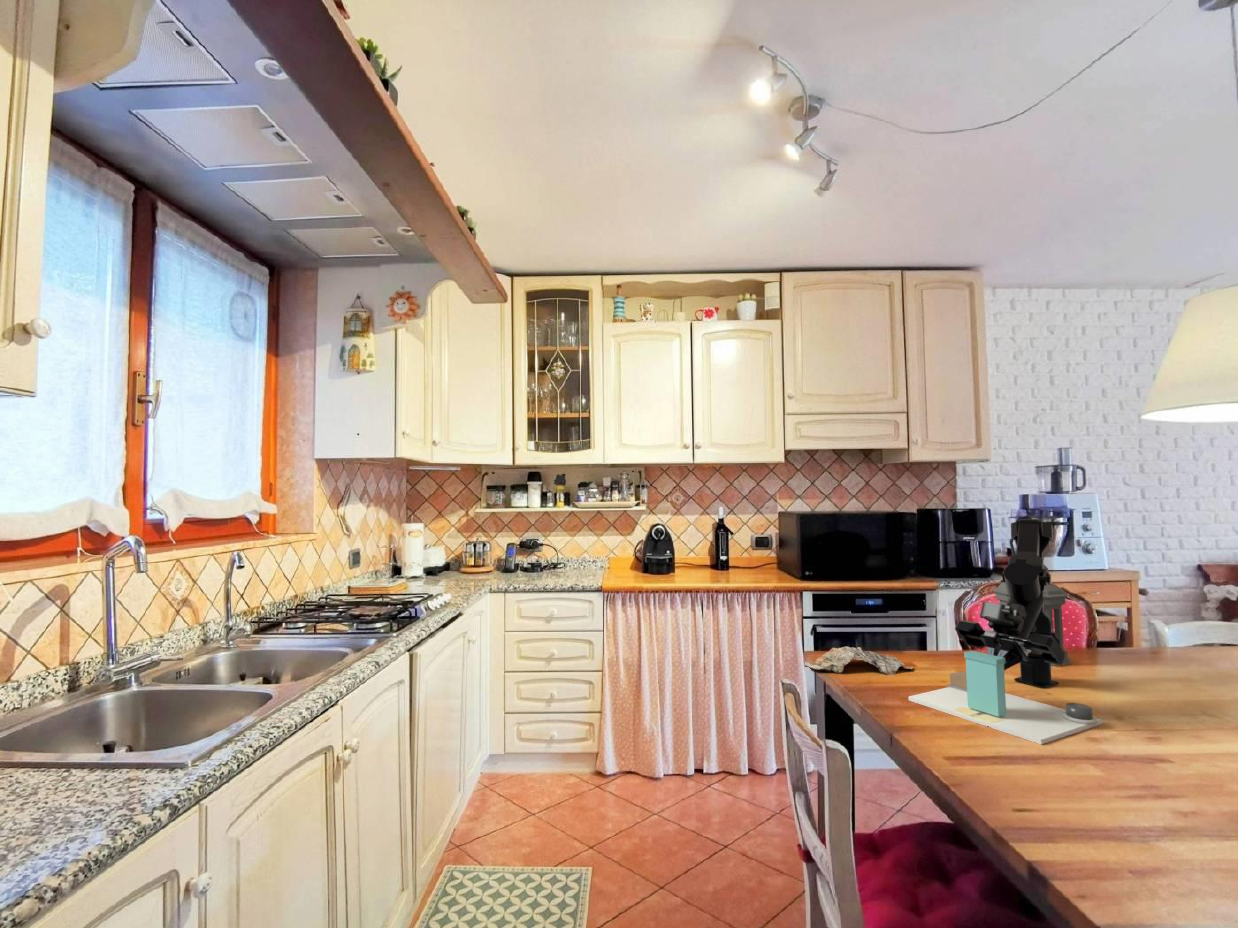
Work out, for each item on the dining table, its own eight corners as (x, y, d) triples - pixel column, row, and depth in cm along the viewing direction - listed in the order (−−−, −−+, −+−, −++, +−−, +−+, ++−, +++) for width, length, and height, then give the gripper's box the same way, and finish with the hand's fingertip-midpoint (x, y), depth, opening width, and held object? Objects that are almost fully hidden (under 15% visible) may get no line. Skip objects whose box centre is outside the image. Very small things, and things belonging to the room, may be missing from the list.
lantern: (1086, 661, 155) (1078, 526, 157) (1048, 670, 148) (1041, 528, 150) (1019, 647, 170) (1012, 524, 172) (982, 654, 163) (976, 525, 165)
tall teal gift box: (975, 704, 120) (972, 650, 121) (1007, 714, 115) (1005, 657, 115) (966, 706, 119) (963, 652, 120) (999, 717, 113) (996, 659, 114)
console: (965, 685, 136) (964, 669, 136) (1105, 724, 112) (1104, 705, 112) (906, 699, 127) (905, 682, 127) (1045, 745, 103) (1044, 724, 103)
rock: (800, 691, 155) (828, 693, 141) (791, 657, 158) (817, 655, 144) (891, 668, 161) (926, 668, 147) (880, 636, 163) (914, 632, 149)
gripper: (958, 582, 130) (927, 639, 124) (1053, 593, 113) (1022, 660, 107) (982, 615, 133) (952, 673, 127) (1077, 631, 116) (1049, 698, 110)
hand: (990, 675), depth 118 cm, fingers closed, pressing on tall teal gift box
